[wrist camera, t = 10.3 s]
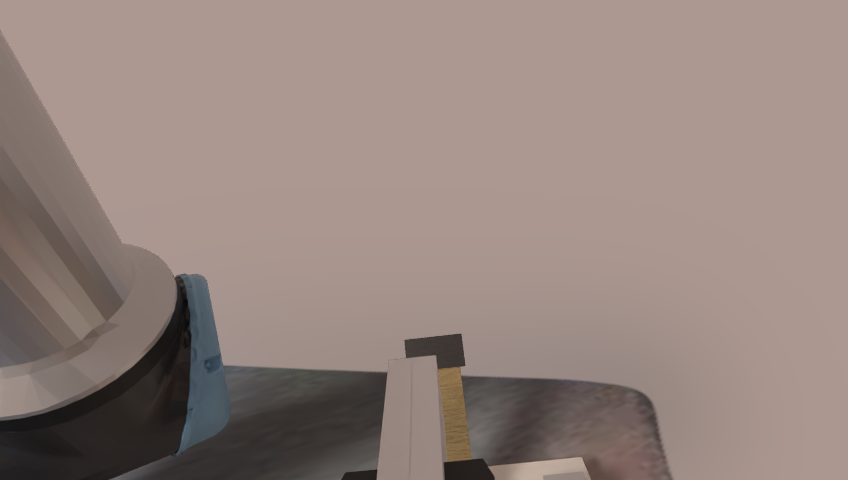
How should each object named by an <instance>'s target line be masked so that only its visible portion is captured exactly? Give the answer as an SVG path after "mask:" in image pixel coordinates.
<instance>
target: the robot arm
mask: <svg viewBox="0 0 848 480" xmlns="http://www.w3.org/2000/svg"><path fill="white" fill-rule="evenodd" d="M230 415H231V405H230V400H229V394H228V389H227V384H226V379H225V374H224V368H223V364H222V358H221V353H220V348H219V342H218V337H217V331H216V326H215V321H214V315H213V310H212V305H211V300H210V295H209V289H208V284H207V280H206V279H205V277H204V276H201V275H198V274H192V275H187V274H181V275H177V276H176V277H175V278H174V276H173V274H172V272H171V270H170V269H169V267H168V266H167V264H166V263H165V262H164V261H163V260H162V259H161V258H160V257H159V256H157V255H155V254H153V253H152V252H150V251H148V250H146V249H143V248H140V247H137V246H133V245H129V244H122V242H121V240H120V239H119V237H118V235H117V233H116V231H115V230H114V228H113V226H112V224H111V223H110V221H109V219H108V217H107V216H106V214H105V212H104V210H103V209H102V207H101V205H100V203H99V202H98V200H97V198H96V196H95V195H94V193H93V191H92V189H91V188H90V186H89V184H88V182H87V181H86V179H85V177H84V175H83V174H82V172H81V170H80V168H79V167H78V165H77V163H76V161H75V160H74V158H73V156H72V154H71V153H70V151H69V150H68V148H67V146H66V144H65V142H64V141H63V139H62V137H61V135H60V134H59V132H58V130H57V128H56V127H55V125H54V123H53V121H52V120H51V118H50V116H49V114H48V113H47V111H46V109H45V108H44V106H43V104H42V102H41V100H40V99H39V97H38V95H37V93H36V92H35V90H34V88H33V86H32V85H31V83H30V81H29V79H28V78H27V76H26V74H25V72H24V71H23V69H22V67H21V65H20V64H19V62H18V60H17V59H16V57H15V55H14V53H13V51H12V50H11V48H10V46H9V45H8V43H7V41H6V39H5V38H4V36H3V34H2V32H1V30H0V480H110V479H112V478H115V477H117V476H120V475H122V474H125V473H127V472H129V471H132V470H134V469H137V468H139V467H142V466H144V465H147V464H149V463H152V462H154V461H157V460H159V459H162V458H164V457H167V456H169V455H172V456H177V455H180V454H182V453H183V452H184V451H185V450H186V449H187V448H189V447H191V446H193V445H195V444H197V443H200V442H202V441H204V440H206V439H208V438H210V437H212V436H215V435H216V434H218V433H219V432H220V431H222V430H223V429H224V428H225V426H226V425H227V423H228V421H229V419H230ZM341 480H495V478H494V475H493V473H492V472H491V470H490V469H489V467H488V466H487V464H486V463H485V461H484V460H483V459H472V460H462V461H451V462H447V451H446V437H445V423H444V414H443V406H442V399H441V391H440V383H439V375H438V368H437V360H436V355H433V356H423V357H413V358H404V359H394V360H389V364H388V374H387V383H386V393H385V403H384V412H383V422H382V432H381V441H380V451H379V461H378V470H369V471H358V472H347V473H345V474H344V476H343V478H342V479H341Z"/></svg>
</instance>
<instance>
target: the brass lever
mask: <svg viewBox="0 0 848 480" xmlns="http://www.w3.org/2000/svg"><path fill="white" fill-rule="evenodd" d="M405 350H406V358H413V357H423V356H433V355H436V360H437V368H438V375H439V383H440V391H441V399H442V406H443V414H444V423H445V437H446V451H447V462H451V461H462V460H472V459H471V451H470V443H469V435H468V427H467V419H466V411H465V403H464V395H463V387H462V379H461V372H460V367H461V366H465V359H464V351H463V344H462V336H461V334H454V335H445V336H436V337H427V338H419V339H409V340H405Z"/></svg>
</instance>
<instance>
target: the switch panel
mask: <svg viewBox="0 0 848 480" xmlns="http://www.w3.org/2000/svg"><path fill="white" fill-rule="evenodd" d="M488 467H489V469H490V470H491V472H492V473H493V475H494V478H495V480H543V475H552V474H562V473H572V472H582V471H583V472H584V475H585V477H586V479H587V480H591V478H590V476H589V473H588V471H587V469H586V466H585V464H584V462H583V459H582V457H576V458H566V459H557V460H547V461H537V462H527V463H517V464H507V465H497V466H488Z"/></svg>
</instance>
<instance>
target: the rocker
mask: <svg viewBox="0 0 848 480" xmlns="http://www.w3.org/2000/svg"><path fill="white" fill-rule="evenodd" d="M543 480H587V479H586V477H585V475H584V472H583V471H582V472H572V473H562V474H552V475H543Z"/></svg>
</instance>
